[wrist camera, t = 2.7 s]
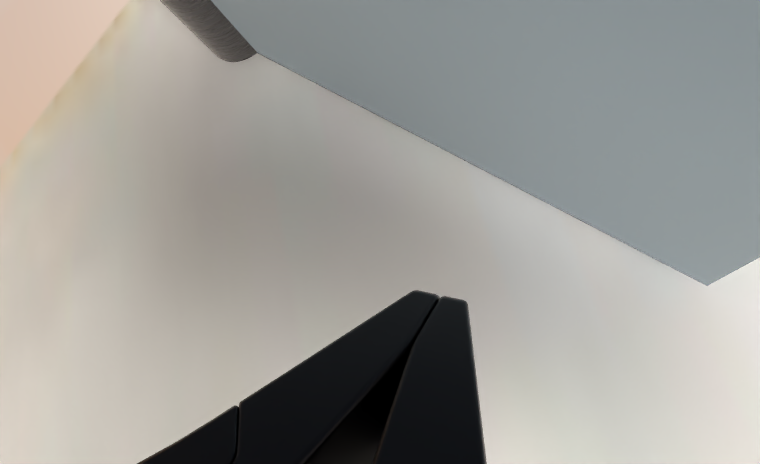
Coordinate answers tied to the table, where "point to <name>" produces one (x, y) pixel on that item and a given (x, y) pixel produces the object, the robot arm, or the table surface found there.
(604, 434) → the table surface
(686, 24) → the panel
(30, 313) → the table surface
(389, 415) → the robot arm
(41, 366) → the table surface
